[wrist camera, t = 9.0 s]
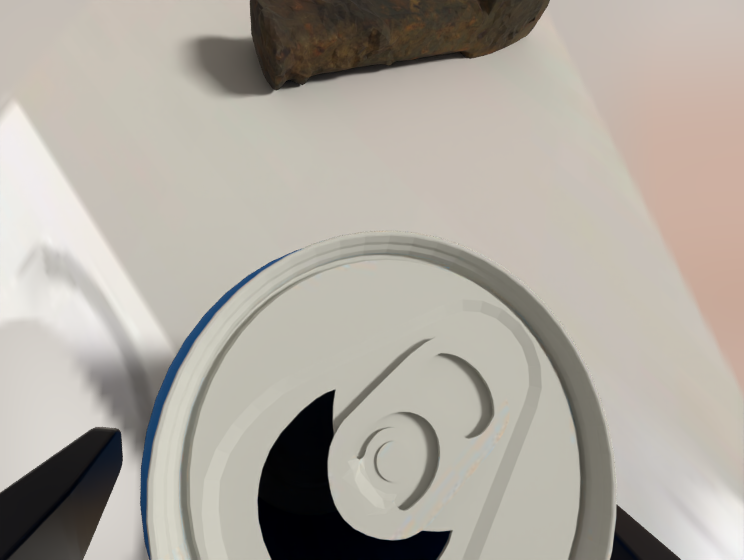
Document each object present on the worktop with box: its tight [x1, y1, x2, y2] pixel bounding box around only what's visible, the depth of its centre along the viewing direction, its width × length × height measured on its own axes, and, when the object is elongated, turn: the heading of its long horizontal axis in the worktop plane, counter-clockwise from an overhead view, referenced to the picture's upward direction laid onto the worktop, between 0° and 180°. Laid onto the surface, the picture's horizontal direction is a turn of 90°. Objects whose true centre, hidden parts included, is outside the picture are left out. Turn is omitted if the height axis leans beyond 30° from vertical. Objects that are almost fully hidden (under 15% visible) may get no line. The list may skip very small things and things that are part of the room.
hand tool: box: [250, 0, 550, 90], centre depth 22 cm, size 19×4×5 cm, turn 111°
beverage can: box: [140, 231, 617, 560], centre depth 10 cm, size 6×6×12 cm
